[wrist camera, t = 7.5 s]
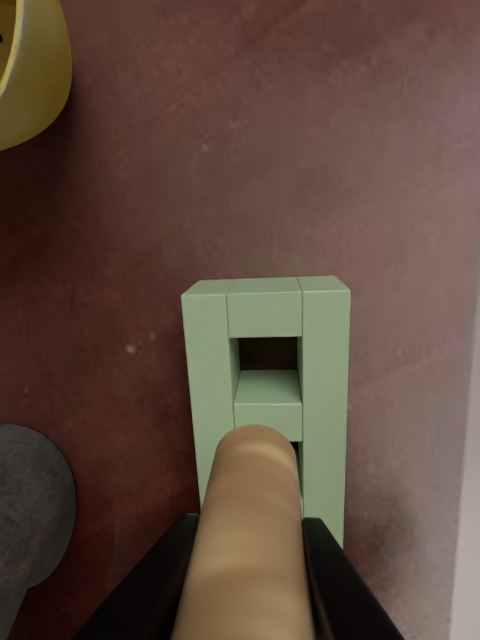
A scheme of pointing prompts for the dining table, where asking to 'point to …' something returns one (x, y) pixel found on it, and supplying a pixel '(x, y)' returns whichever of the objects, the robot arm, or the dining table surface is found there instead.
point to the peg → (248, 546)
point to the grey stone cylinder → (31, 515)
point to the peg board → (274, 377)
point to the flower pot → (32, 68)
